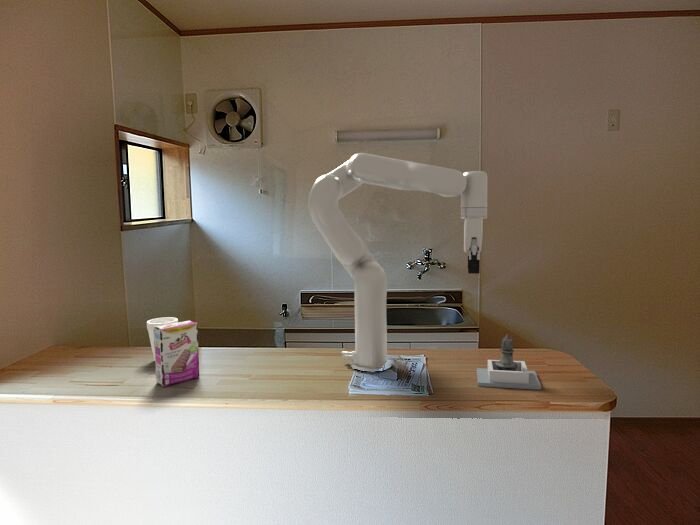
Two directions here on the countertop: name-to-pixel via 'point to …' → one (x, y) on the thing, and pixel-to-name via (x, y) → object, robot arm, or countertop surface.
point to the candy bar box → (176, 352)
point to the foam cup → (158, 322)
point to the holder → (508, 377)
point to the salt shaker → (507, 356)
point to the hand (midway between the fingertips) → (473, 271)
